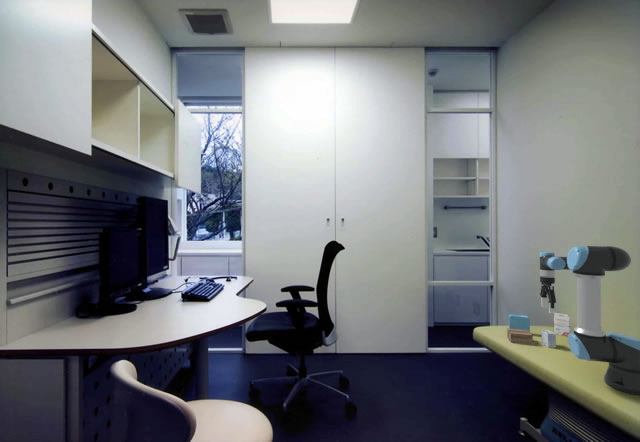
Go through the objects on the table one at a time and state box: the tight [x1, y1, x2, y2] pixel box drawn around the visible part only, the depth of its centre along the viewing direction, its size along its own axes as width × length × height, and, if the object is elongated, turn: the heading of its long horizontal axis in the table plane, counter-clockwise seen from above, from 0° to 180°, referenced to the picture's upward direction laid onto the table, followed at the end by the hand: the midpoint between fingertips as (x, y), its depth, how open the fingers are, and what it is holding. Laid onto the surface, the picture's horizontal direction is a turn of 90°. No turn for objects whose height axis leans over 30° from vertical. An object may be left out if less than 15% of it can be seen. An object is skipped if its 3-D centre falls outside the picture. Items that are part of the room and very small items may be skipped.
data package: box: [508, 313, 531, 333], centre depth 215 cm, size 12×4×12 cm, turn 60°
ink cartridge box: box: [553, 312, 572, 337], centre depth 211 cm, size 9×5×15 cm, turn 43°
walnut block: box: [506, 327, 534, 346], centre depth 199 cm, size 10×12×6 cm
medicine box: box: [541, 329, 557, 349], centre depth 191 cm, size 8×4×9 cm, turn 168°
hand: (548, 310), depth 192 cm, fingers open, 13 cm apart
